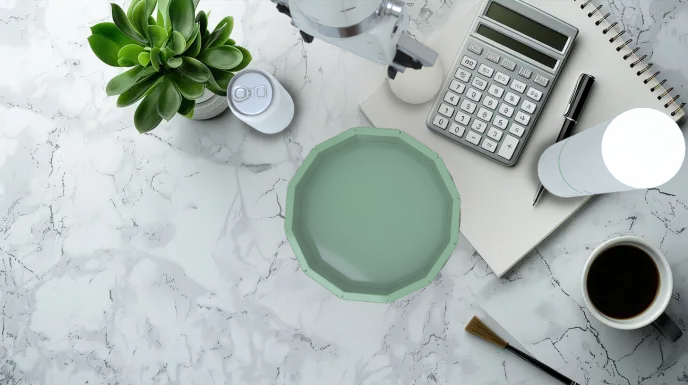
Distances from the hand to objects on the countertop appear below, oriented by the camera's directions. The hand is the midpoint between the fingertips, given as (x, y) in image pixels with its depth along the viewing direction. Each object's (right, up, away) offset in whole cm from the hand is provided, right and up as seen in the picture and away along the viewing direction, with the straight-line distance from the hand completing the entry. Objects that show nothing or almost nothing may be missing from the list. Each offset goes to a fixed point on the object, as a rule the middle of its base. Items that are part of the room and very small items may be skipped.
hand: (355, 47), depth 65 cm
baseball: (+8, -1, +17) cm, 19 cm away
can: (-11, -4, +18) cm, 21 cm away
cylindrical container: (+27, -12, +15) cm, 33 cm away
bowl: (+2, -17, -8) cm, 19 cm away
